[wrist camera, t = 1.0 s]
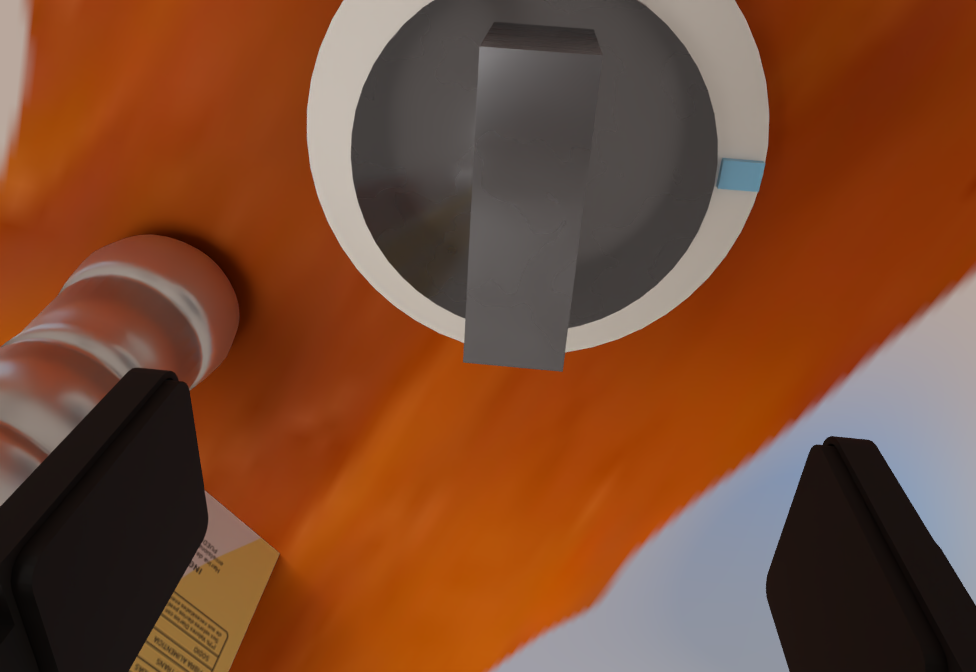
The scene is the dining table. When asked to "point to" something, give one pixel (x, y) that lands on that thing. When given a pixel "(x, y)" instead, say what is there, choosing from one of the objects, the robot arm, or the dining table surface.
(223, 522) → the pasta box
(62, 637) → the robot arm
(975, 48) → the dining table surface
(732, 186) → the dial housing
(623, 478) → the dining table surface
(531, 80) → the dial knob
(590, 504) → the dining table surface
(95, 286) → the plastic bottle
